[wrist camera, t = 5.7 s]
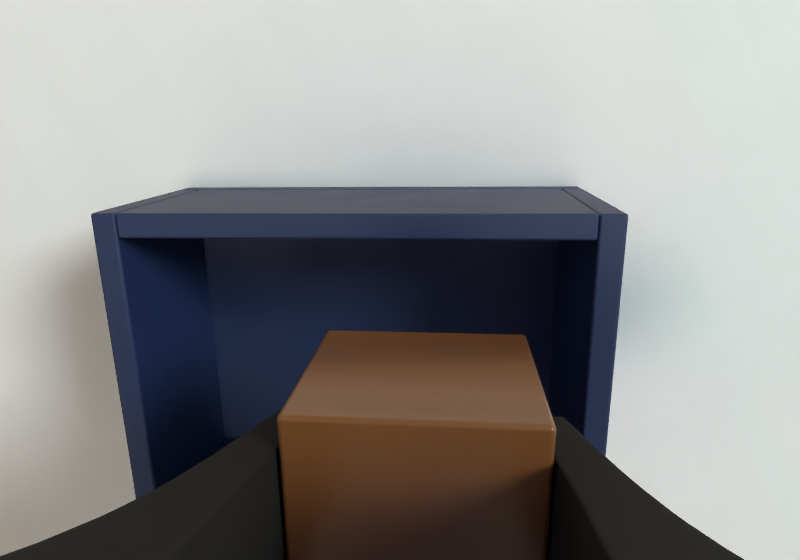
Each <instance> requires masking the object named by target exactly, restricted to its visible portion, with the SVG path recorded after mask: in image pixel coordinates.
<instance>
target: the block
mask: <svg viewBox="0 0 800 560" xmlns="http://www.w3.org/2000/svg"><path fill="white" fill-rule="evenodd" d="M277 429H278V443H279V456H280V469H281V483H282V496H283V510H284V523H285V536H286V550H287V560H547V553H548V539H549V525H550V511H551V498H552V484H553V470H554V456H555V442H556V427H555V424H554V421H553V418H552V415H551V411H550V408H549V405H548V402H547V399H546V396H545V393H544V390H543V387H542V384H541V381H540V378H539V375H538V372H537V369H536V366H535V363H534V360H533V357H532V354H531V351H530V348H529V345H528V342H527V339H526V336H524V335H509V334H466V333H424V332H381V331H339V330H330V331H328V332H327V333H326V335H325V337H324V338H323V340H322V342H321V343H320V345H319V347H318V349H317V350H316V352H315V354H314V355H313V357H312V359H311V360H310V362H309V364H308V365H307V367H306V369H305V371H304V372H303V374H302V376H301V377H300V379H299V381H298V382H297V384H296V386H295V387H294V389H293V391H292V393H291V394H290V396H289V398H288V399H287V401H286V403H285V404H284V406H283V408H282V409H281V411H280V413H279V414H278V417H277Z"/></svg>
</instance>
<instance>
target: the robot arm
mask: <svg viewBox="0 0 800 560" xmlns="http://www.w3.org/2000/svg"><path fill="white" fill-rule="evenodd" d="M280 411H281V409H280V410H278V411H277V412H275V413H274V414H272V415H271V416H269V417H268V418H266V419H265V420H263V421H262V422H260V423H259V424H257V425H256V426H255V427H253V428H252V429H250V430H249V431H247V432H246V433H244V434H243V435H241V436H240V437H239V438H237V439H236V440H234V441H233V442H231V443H230V444H228V445H227V446H225V447H224V448H222V449H221V450H219V451H218V452H216V453H215V454H213V455H212V456H210V457H209V458H207V459H205V460H204V461H202V462H200V463H199V464H197V465H195V466H194V467H192V468H191V469H189V470H187V471H186V472H184V473H182V474H181V475H179V476H178V477H176V478H174V479H173V480H171V481H169V482H168V483H166V484H164V485H162V486H160V487H159V488H157V489H155V490H153V491H151V492H149V493H148V494H146V495H144V496H142V497H140V498H138V499H136V500H134V501H132V502H130V503H128V504H126V505H124V506H122V507H120V508H118V509H116V510H114V511H112V512H110V513H107V514H105V515H103V516H101V517H99V518H96V519H94V520H91V521H89V522H87V523H84V524H82V525H80V526H77V527H75V528H72V529H70V530H68V531H65V532H63V533H60V534H58V535H56V536H53V537H51V538H48V539H46V540H44V541H41V542H39V543H36V544H33V545H31V546H28V547H25V548H22V549H20V550H17V551H14V552H11V553H8V554H6V555H3V556H0V560H287V550H286V536H285V523H284V510H283V496H282V483H281V469H280V456H279V443H278V429H277V417H278V414H279V413H280ZM552 418H553V421H554V424H555V427H556V442H555V456H554V470H553V484H552V498H551V511H550V525H549V539H548V553H547V560H744V559H742V558H741V557H739V556H737V555H736V554H734V553H732V552H731V551H729V550H727V549H726V548H724V547H723V546H721V545H720V544H718V543H717V542H715V541H714V540H712V539H711V538H709V537H708V536H706V535H705V534H703V533H702V532H700V531H699V530H697V529H696V528H694V527H693V526H691V525H690V524H688V523H687V522H685V521H684V520H683V519H681V518H680V517H678V516H677V515H676V514H674V513H673V512H671V511H670V510H669V509H668V508H666V507H665V506H664V505H662V504H661V503H660V502H659V501H657V500H656V499H655V498H653V497H652V496H651V495H650V494H648V493H647V492H646V491H644V490H643V489H642V488H641V487H640V486H638V485H637V484H636V483H635V482H634V481H632V480H631V479H630V478H629V477H628V476H627V475H625V474H624V473H623V472H622V471H621V470H620V469H618V468H617V467H616V466H615V465H614V464H613V463H612V462H611V461H610V460H608V459H607V458H606V457H605V456H604V455H603V454H602V453H601V452H600V451H599V450H598V449H597V448H595V447H594V446H593V445H592V444H591V443H590V442H589V441H588V440H587V439H586V438H585V437H584V436H583V435H582V434H581V433H580V432H579V431H578V430H577V429H576V428H575V427H573V426H572V425H571V424H570V423H569V422H568V421H567V420H566V419H565V418H564V417H552Z"/></svg>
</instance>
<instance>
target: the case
mask: <svg viewBox="0 0 800 560" xmlns="http://www.w3.org/2000/svg"><path fill="white" fill-rule="evenodd" d="M91 218H92V224H93V231H94V237H95V243H96V249H97V256H98V262H99V268H100V275H101V281H102V287H103V293H104V300H105V306H106V312H107V318H108V325H109V331H110V337H111V344H112V350H113V356H114V362H115V369H116V375H117V381H118V387H119V394H120V400H121V406H122V413H123V419H124V425H125V431H126V438H127V444H128V450H129V456H130V463H131V469H132V475H133V481H134V488H135V494H136V499H138V498H140V497H142V496H144V495H146V494H148V493H149V492H151V491H153V490H155V489H157V488H159V487H160V486H162V485H164V484H166V483H168V482H169V481H171V480H173V479H174V478H176V477H178V476H179V475H181V474H182V473H184V472H186V471H187V470H189V469H191V468H192V467H194V466H195V465H197V464H199V463H200V462H202V461H204V460H205V459H207V458H209V457H210V456H212V455H213V454H215V453H216V452H218V451H219V450H221V449H222V448H224V447H225V446H227V445H228V444H230V443H231V442H233V441H234V440H236V439H237V438H239V437H240V436H241V435H243V434H244V433H246V432H247V431H249V430H250V429H252V428H253V427H255V426H256V425H257V424H259V423H260V422H262V421H263V420H265V419H266V418H268V417H269V416H271V415H272V414H274V413H275V412H277V411H278V410H280V409H282V408H283V406H284V404H285V403H286V401H287V399H288V398H289V396H290V394H291V393H292V391H293V389H294V387H295V386H296V384H297V382H298V381H299V379H300V377H301V376H302V374H303V372H304V371H305V369H306V367H307V365H308V364H309V362H310V360H311V359H312V357H313V355H314V354H315V352H316V350H317V349H318V347H319V345H320V343H321V342H322V340H323V338H324V337H325V335H326V333H327V332H328V331H330V330H339V331H381V332H424V333H466V334H509V335H524V336H526V339H527V342H528V345H529V348H530V351H531V354H532V357H533V360H534V363H535V366H536V369H537V372H538V375H539V378H540V381H541V384H542V387H543V390H544V393H545V396H546V399H547V402H548V405H549V408H550V411H551V415H552V417H564V418H565V419H566V420H567V421H568V422H569V423H570V424H571V425H572V426H573V427H575V428H576V429H577V430H578V431H579V432H580V433H581V434H582V435H583V436H584V437H585V438H586V439H587V440H588V441H589V442H590V443H591V444H592V445H593V446H594V447H595V448H597V449H598V450H599V451H600V452H601V453H602V454H603V455H604V456H605V455H606V445H607V434H608V423H609V413H610V402H611V392H612V381H613V370H614V360H615V349H616V339H617V328H618V317H619V307H620V296H621V286H622V275H623V264H624V254H625V243H626V233H627V222H628V215H627V214H626V213H624V212H622V211H620V210H619V209H617V208H615V207H613V206H611V205H610V204H608V203H606V202H604V201H602V200H601V199H599V198H597V197H595V196H593V195H592V194H590V193H588V192H586V191H584V190H583V189H580V188H579V187H287V188H187V189H183V190H179V191H175V192H171V193H168V194H164V195H160V196H156V197H153V198H149V199H145V200H141V201H137V202H134V203H130V204H126V205H122V206H118V207H115V208H111V209H107V210H103V211H99V212H96V213H93V214H92V215H91Z"/></svg>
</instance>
